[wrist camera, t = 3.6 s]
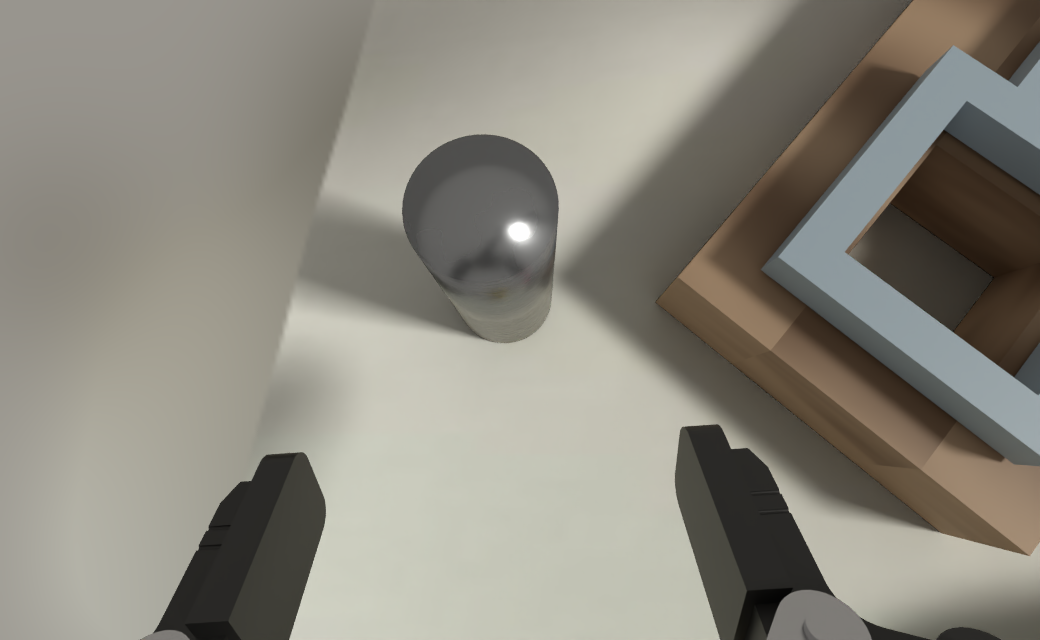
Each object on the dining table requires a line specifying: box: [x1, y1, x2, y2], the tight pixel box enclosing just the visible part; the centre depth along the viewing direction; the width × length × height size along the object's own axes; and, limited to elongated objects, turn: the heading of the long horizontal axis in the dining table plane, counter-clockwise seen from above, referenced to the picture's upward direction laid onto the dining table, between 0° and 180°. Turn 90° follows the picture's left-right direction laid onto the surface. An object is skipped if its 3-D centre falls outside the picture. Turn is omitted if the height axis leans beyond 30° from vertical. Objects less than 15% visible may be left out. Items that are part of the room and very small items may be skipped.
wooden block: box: [656, 0, 1040, 556], centre depth 22 cm, size 21×14×4 cm, turn 139°
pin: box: [402, 135, 559, 343], centre depth 19 cm, size 4×4×10 cm
